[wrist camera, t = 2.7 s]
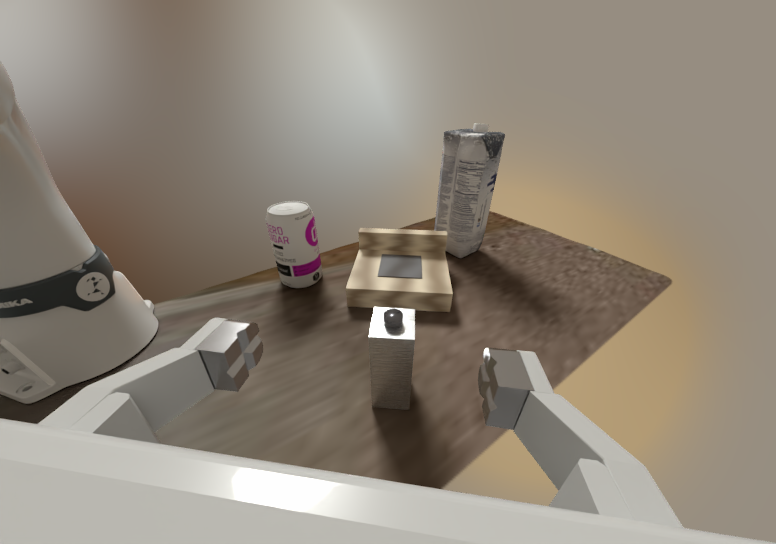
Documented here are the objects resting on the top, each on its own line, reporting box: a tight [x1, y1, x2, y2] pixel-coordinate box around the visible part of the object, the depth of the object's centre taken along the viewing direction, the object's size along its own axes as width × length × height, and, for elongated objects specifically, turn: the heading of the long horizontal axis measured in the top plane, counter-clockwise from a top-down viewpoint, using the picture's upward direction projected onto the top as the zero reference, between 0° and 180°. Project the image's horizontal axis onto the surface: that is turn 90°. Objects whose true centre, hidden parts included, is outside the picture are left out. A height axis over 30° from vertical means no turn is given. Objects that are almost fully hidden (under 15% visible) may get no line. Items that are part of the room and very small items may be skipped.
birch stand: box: [346, 228, 453, 312], centre depth 53 cm, size 18×16×8 cm
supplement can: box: [266, 201, 322, 288], centre depth 53 cm, size 8×8×15 cm
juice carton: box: [434, 123, 505, 258], centre depth 61 cm, size 9×10×27 cm
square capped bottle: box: [369, 307, 415, 410], centre depth 32 cm, size 4×4×13 cm
